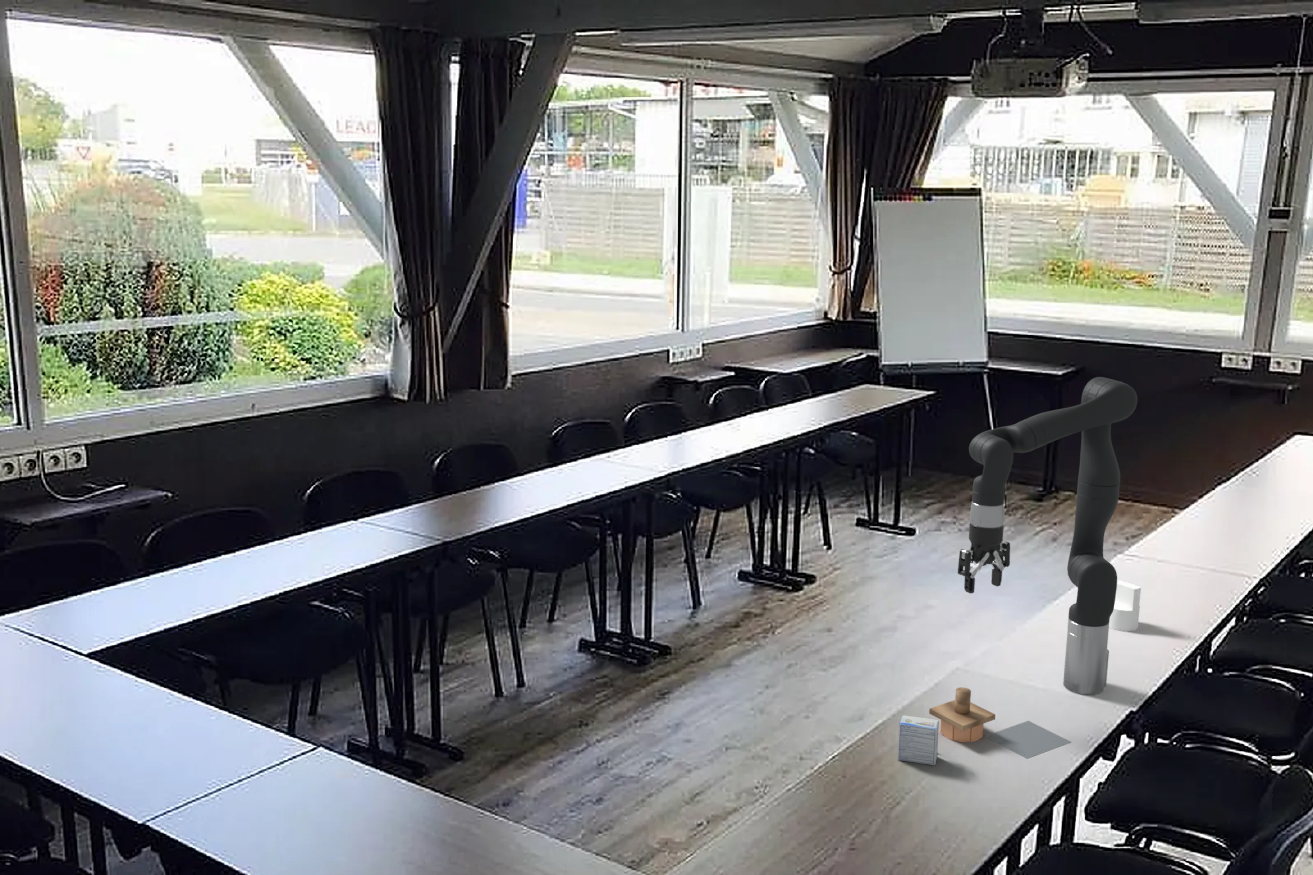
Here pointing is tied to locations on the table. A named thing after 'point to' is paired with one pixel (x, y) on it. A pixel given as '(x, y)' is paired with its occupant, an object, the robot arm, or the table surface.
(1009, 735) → the mat
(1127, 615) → the cylinder with rectangular tab
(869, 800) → the table surface
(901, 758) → the medicine box
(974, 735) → the bowl
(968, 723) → the lid
